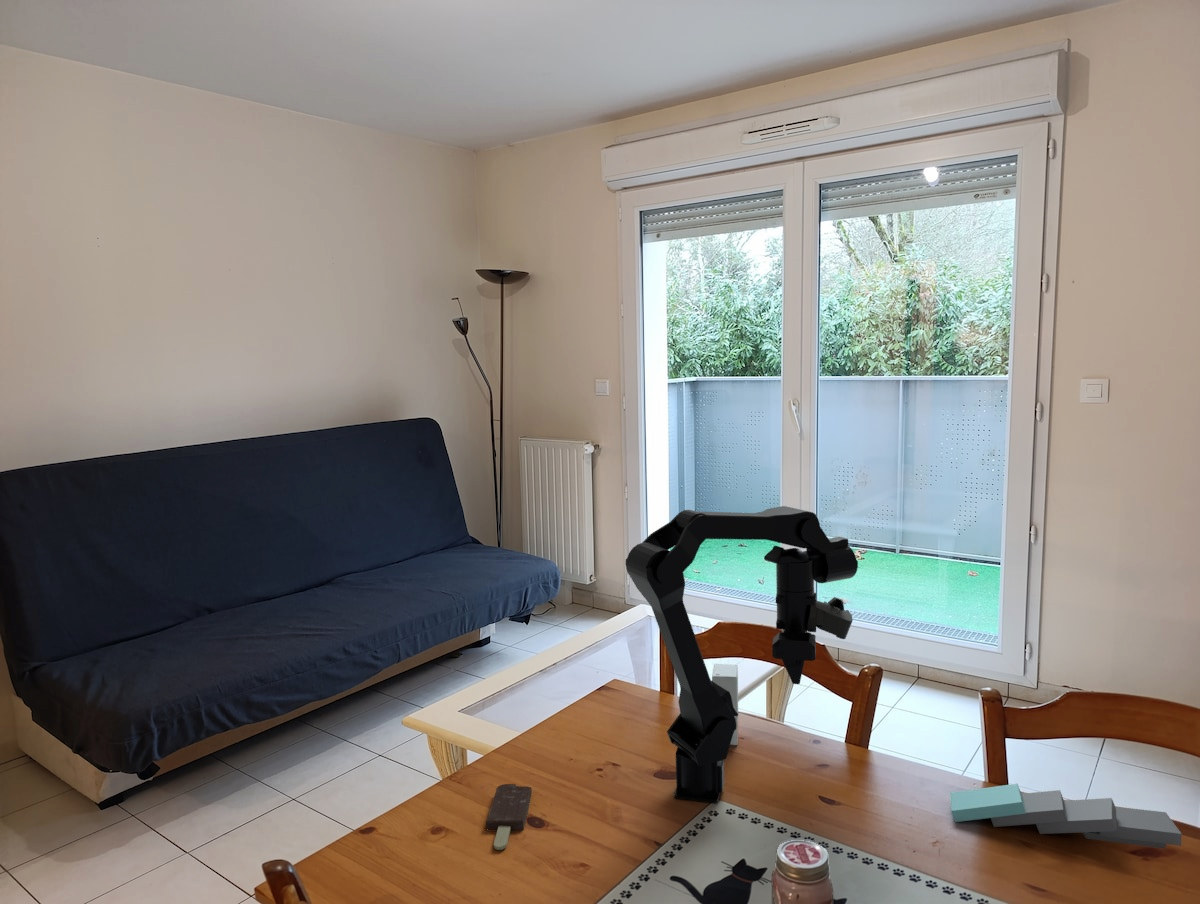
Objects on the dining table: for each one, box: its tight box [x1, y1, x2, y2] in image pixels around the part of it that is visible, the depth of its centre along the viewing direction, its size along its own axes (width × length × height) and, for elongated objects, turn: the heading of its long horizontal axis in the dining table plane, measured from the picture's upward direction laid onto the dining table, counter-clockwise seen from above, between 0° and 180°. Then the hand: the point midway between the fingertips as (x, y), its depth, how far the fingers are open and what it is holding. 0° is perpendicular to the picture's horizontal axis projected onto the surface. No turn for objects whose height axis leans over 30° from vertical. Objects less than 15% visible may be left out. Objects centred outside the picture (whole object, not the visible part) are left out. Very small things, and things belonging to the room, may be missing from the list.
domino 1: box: [990, 789, 1067, 828], centre depth 106 cm, size 2×5×9 cm
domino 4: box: [1098, 806, 1183, 846], centre depth 102 cm, size 2×5×9 cm
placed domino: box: [949, 783, 1026, 823], centre depth 107 cm, size 2×5×9 cm
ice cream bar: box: [485, 783, 533, 851], centre depth 111 cm, size 5×2×15 cm
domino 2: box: [1035, 797, 1117, 835], centre depth 103 cm, size 2×5×9 cm
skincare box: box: [711, 663, 739, 746], centre depth 133 cm, size 6×4×12 cm
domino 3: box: [1082, 832, 1167, 850], centre depth 103 cm, size 2×5×9 cm
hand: (796, 683), depth 124 cm, fingers closed
